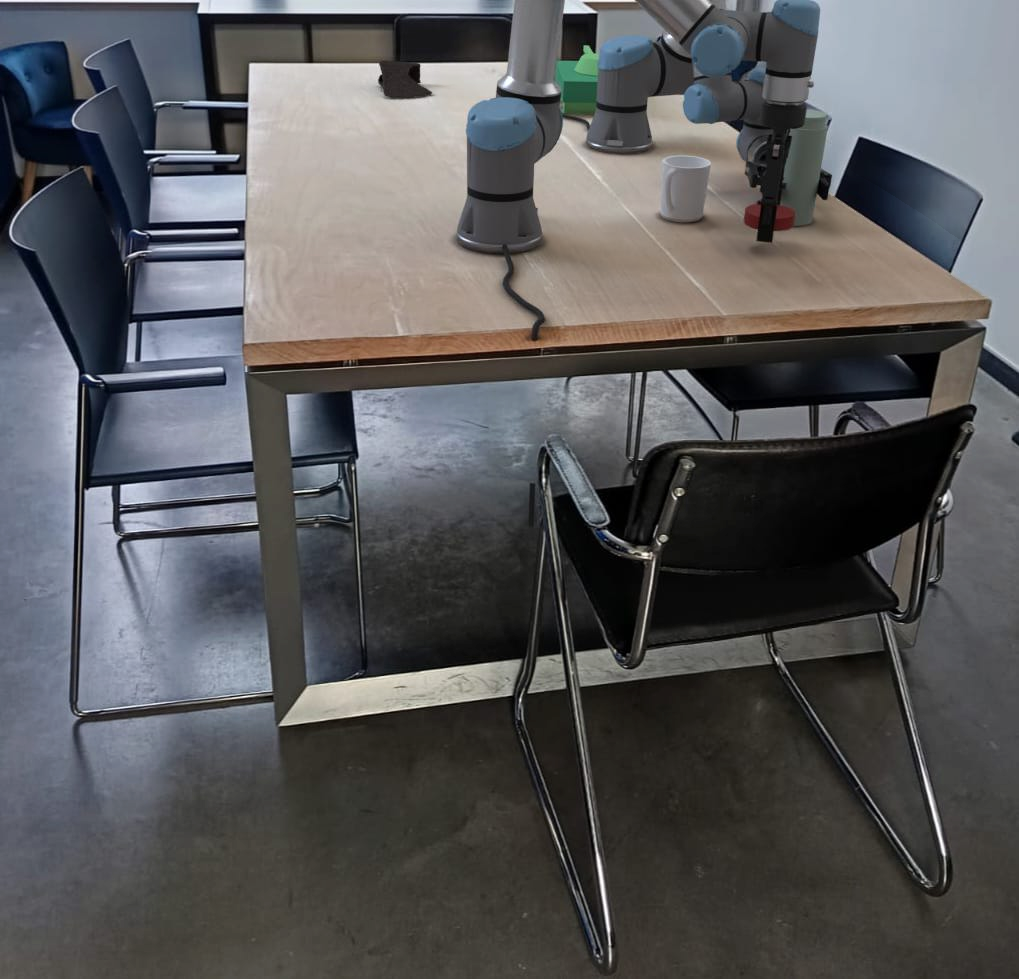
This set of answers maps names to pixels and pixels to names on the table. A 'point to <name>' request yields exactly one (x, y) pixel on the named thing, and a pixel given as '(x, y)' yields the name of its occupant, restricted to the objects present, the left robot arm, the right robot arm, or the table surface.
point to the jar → (804, 166)
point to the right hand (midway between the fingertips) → (802, 192)
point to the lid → (781, 222)
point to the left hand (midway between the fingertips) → (766, 233)
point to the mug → (684, 188)
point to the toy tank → (578, 83)
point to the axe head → (401, 79)
